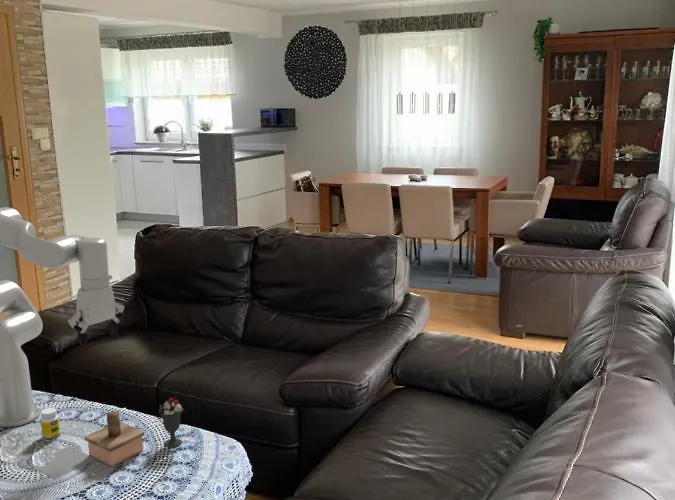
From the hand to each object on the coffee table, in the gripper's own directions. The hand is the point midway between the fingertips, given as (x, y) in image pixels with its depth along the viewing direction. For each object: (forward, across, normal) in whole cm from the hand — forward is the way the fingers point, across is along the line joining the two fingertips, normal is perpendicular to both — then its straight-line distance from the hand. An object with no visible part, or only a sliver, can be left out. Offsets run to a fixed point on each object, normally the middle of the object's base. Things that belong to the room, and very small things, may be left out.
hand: (99, 340), depth 191 cm
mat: (+28, +18, +7) cm, 34 cm away
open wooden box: (+27, +7, +15) cm, 32 cm away
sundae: (+27, -6, +23) cm, 36 cm away
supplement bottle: (+28, +12, -8) cm, 32 cm away
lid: (+22, +7, +15) cm, 28 cm away
